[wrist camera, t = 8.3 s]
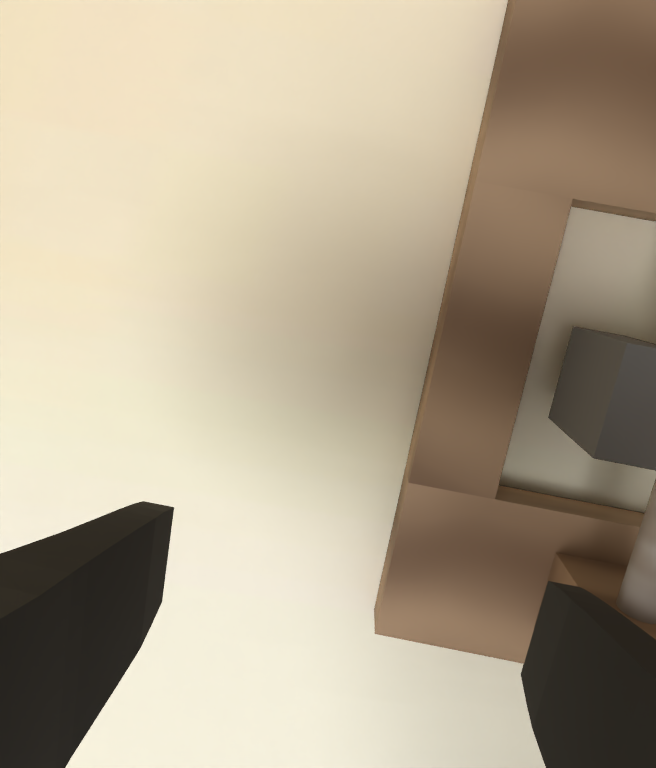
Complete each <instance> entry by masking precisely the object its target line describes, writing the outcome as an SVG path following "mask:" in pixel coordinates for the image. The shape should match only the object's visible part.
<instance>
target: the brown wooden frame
mask: <svg viewBox="0 0 656 768" xmlns="http://www.w3.org/2000/svg"><path fill="white" fill-rule="evenodd" d="M571 206H572V207H578V208H583V209H589V210H594V211H600V212H606V213H611V214H617V215H623V216H628V217H634V218H639V219H645V220H651V221H656V0H508V4H507V9H506V14H505V18H504V23H503V27H502V32H501V36H500V41H499V45H498V50H497V54H496V59H495V64H494V68H493V73H492V77H491V82H490V86H489V91H488V95H487V100H486V104H485V109H484V113H483V118H482V123H481V127H480V132H479V136H478V141H477V145H476V150H475V154H474V159H473V163H472V168H471V173H470V177H469V182H468V186H467V191H466V195H465V200H464V204H463V209H462V213H461V218H460V222H459V227H458V232H457V236H456V241H455V245H454V250H453V254H452V259H451V263H450V268H449V272H448V277H447V281H446V286H445V291H444V295H443V300H442V304H441V309H440V313H439V318H438V322H437V327H436V331H435V336H434V341H433V345H432V350H431V354H430V359H429V363H428V368H427V372H426V377H425V381H424V386H423V390H422V395H421V400H420V404H419V409H418V413H417V418H416V422H415V427H414V431H413V436H412V440H411V445H410V450H409V454H408V459H407V463H406V468H405V472H404V477H403V481H402V486H401V490H400V495H399V499H398V504H397V509H396V513H395V518H394V522H393V527H392V531H391V536H390V540H389V545H388V549H387V554H386V559H385V563H384V568H383V572H382V577H381V581H380V586H379V590H378V595H377V599H376V604H375V608H374V618H375V634H379V635H384V636H389V637H394V638H399V639H404V640H409V641H414V642H419V643H424V644H429V645H434V646H439V647H444V648H449V649H454V650H459V651H464V652H469V653H474V654H479V655H484V656H489V657H494V658H499V659H504V660H509V661H514V662H519V663H524V662H525V658H526V655H527V651H528V648H529V645H530V641H531V638H532V634H533V631H534V627H535V624H536V621H537V617H538V614H539V610H540V607H541V603H542V600H543V597H544V593H545V590H546V586H547V583H548V581H552V582H557V583H562V584H567V585H572V586H577V587H581V588H583V589H585V590H587V591H588V592H590V593H592V594H593V595H595V596H596V597H598V598H599V599H601V600H602V601H604V602H605V603H607V604H608V605H610V606H611V607H612V608H614V609H615V610H617V611H618V612H619V613H621V614H622V615H623V616H625V617H626V618H627V619H629V620H630V621H631V622H633V623H634V624H636V625H637V626H638V627H640V628H641V629H642V630H644V631H645V632H646V633H648V634H649V635H650V636H652V637H653V638H654V639H656V480H655V483H654V486H653V489H652V492H651V495H650V498H649V501H648V505H647V508H646V511H645V513H640V512H635V511H630V510H625V509H619V508H614V507H609V506H604V505H598V504H593V503H588V502H583V501H578V500H572V499H567V498H562V497H557V496H552V495H546V494H541V493H536V492H531V491H526V490H520V489H515V488H510V487H505V486H499V481H500V477H501V473H502V470H503V466H504V462H505V458H506V454H507V450H508V447H509V443H510V439H511V435H512V431H513V427H514V423H515V420H516V416H517V412H518V408H519V404H520V400H521V397H522V393H523V389H524V385H525V381H526V377H527V373H528V370H529V366H530V362H531V358H532V354H533V350H534V346H535V343H536V339H537V335H538V331H539V327H540V323H541V320H542V316H543V312H544V308H545V304H546V300H547V296H548V293H549V289H550V285H551V281H552V277H553V273H554V270H555V266H556V262H557V258H558V254H559V250H560V246H561V243H562V239H563V235H564V231H565V227H566V223H567V220H568V216H569V212H570V208H571Z"/></svg>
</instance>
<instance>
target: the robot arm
mask: <svg viewBox="0 0 656 768" xmlns="http://www.w3.org/2000/svg"><path fill="white" fill-rule="evenodd" d="M173 511H174V507H169V506H164V505H159V504H154V503H149V502H144V501H143V502H139V503H135V504H132V505H129V506H127V507H124V508H121V509H119V510H116V511H114V512H111V513H109V514H106V515H104V516H101V517H99V518H97V519H94V520H92V521H89V522H86V523H84V524H81V525H79V526H76V527H74V528H71V529H69V530H66V531H64V532H61V533H59V534H56V535H53V536H50V537H47V538H44V539H42V540H39V541H36V542H33V543H30V544H27V545H24V546H22V547H19V548H16V549H13V550H10V551H7V552H4V553H1V554H0V768H65V767H66V765H67V763H68V762H69V760H70V758H71V757H72V755H73V754H74V752H75V750H76V749H77V747H78V746H79V744H80V743H81V741H82V740H83V738H84V736H85V735H86V733H87V732H88V730H89V729H90V727H91V725H92V724H93V722H94V721H95V719H96V718H97V716H98V714H99V713H100V711H101V710H102V708H103V707H104V705H105V704H106V702H107V700H108V699H109V697H110V696H111V694H112V693H113V691H114V689H115V688H116V686H117V685H118V683H119V682H120V680H121V678H122V677H123V675H124V674H125V672H126V670H127V669H128V667H129V666H130V664H131V662H132V661H133V659H134V658H135V656H136V654H137V653H138V651H139V650H140V648H141V646H142V644H143V642H144V639H145V637H146V635H147V633H148V631H149V629H150V627H151V625H152V623H153V620H154V618H155V616H156V614H157V612H158V609H159V607H160V605H161V603H162V597H163V589H164V581H165V573H166V565H167V558H168V550H169V542H170V534H171V526H172V519H173ZM521 677H522V682H523V687H524V692H525V697H526V702H527V707H528V711H529V716H530V720H531V724H532V728H533V731H534V734H535V737H536V740H537V743H538V746H539V749H540V752H541V755H542V758H543V760H544V763H545V766H546V768H656V639H654V638H653V637H652V636H650V635H649V634H648V633H646V632H645V631H644V630H642V629H641V628H640V627H638V626H637V625H636V624H634V623H633V622H631V621H630V620H629V619H627V618H626V617H625V616H623V615H622V614H621V613H619V612H618V611H617V610H615V609H614V608H612V607H611V606H610V605H608V604H607V603H605V602H604V601H602V600H601V599H599V598H598V597H596V596H595V595H593V594H592V593H590V592H588V591H587V590H585V589H583V588H581V587H577V586H572V585H567V584H562V583H557V582H552V581H548V583H547V586H546V590H545V593H544V597H543V600H542V603H541V607H540V610H539V614H538V617H537V621H536V624H535V627H534V631H533V634H532V638H531V641H530V645H529V648H528V651H527V655H526V658H525V662H524V665H523V669H522V672H521Z"/></svg>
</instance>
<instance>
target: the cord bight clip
mask: <svg viewBox="0 0 656 768" xmlns="http://www.w3.org/2000/svg"><path fill="white" fill-rule="evenodd" d="M548 418H549V419H550V420H552V421H553V422H554V423H555V424H556V425H557V426H558V427H559V428H560V429H561V430H563V431H564V432H565V433H566V434H567V435H568V436H569V437H570V438H571V439H573V440H574V441H575V442H576V443H577V444H578V445H579V446H580V447H581V448H583V449H584V450H585V451H586V452H587V453H588V454H589V455H590V456H591V457H593V458H595V459H600V460H605V461H610V462H615V463H620V464H625V465H631V466H636V467H641V468H646V469H651V470H656V345H655V344H652V343H648V342H645V341H641V340H637V339H634V338H630V337H627V336H622V335H617V334H612V333H606V332H601V331H595V330H590V329H584V328H579V327H574V326H573V329H572V333H571V336H570V340H569V344H568V347H567V351H566V355H565V358H564V362H563V366H562V369H561V373H560V377H559V380H558V384H557V388H556V391H555V395H554V399H553V402H552V406H551V410H550V413H549V417H548Z"/></svg>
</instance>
